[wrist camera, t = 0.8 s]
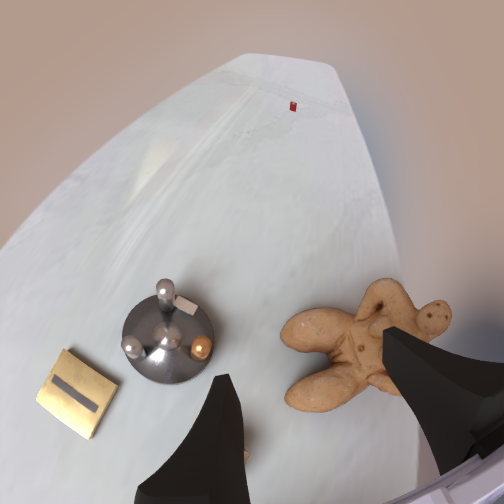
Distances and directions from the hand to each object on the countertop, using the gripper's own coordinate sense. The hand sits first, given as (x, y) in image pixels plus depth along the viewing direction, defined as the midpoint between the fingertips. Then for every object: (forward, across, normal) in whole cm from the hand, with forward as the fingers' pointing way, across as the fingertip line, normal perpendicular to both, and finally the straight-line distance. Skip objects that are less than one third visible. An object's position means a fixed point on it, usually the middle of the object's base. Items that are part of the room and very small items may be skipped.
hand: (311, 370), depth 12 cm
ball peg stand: (+13, +10, +5) cm, 17 cm away
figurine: (+13, -4, +12) cm, 18 cm away
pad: (+8, +19, +6) cm, 22 cm away
